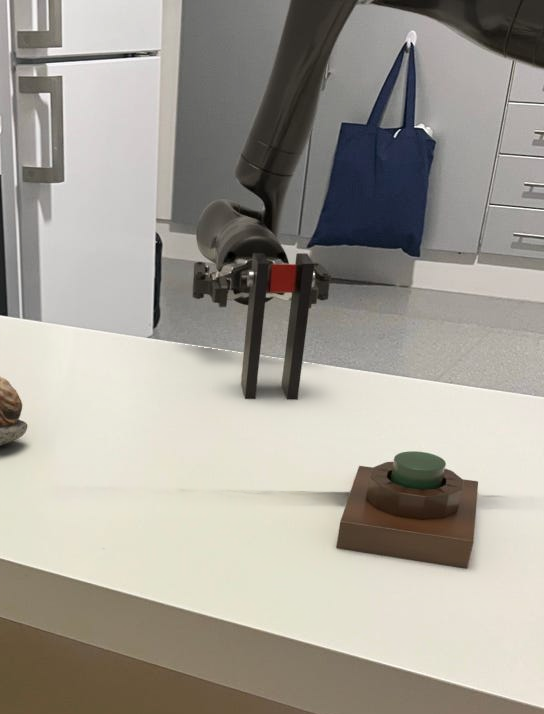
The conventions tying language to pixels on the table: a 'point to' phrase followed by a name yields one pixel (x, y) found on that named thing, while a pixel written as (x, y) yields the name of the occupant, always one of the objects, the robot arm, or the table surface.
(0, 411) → the bison figurine
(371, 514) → the button block
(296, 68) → the robot arm
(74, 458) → the table surface
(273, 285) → the lever
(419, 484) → the button
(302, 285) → the bracket
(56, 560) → the table surface
